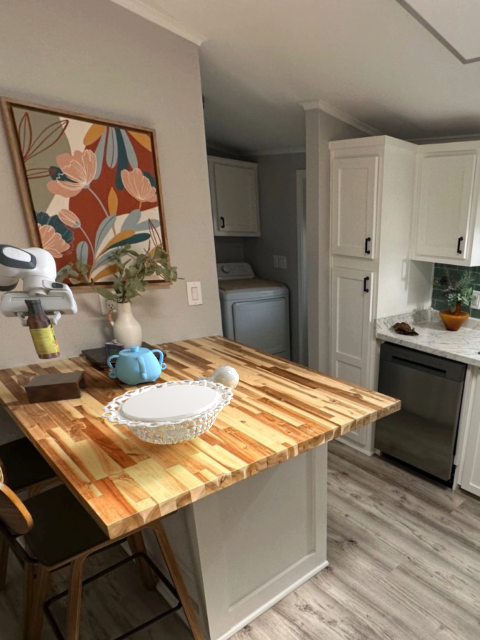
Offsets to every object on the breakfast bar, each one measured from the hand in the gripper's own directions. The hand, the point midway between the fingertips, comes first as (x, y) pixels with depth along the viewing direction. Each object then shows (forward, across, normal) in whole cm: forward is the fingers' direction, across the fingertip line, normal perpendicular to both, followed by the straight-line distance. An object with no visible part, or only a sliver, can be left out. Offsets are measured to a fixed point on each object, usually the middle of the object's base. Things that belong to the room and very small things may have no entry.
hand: (39, 324), depth 136 cm
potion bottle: (+30, +52, +4) cm, 60 cm away
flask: (-4, +15, +38) cm, 41 cm away
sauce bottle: (+8, 0, +9) cm, 12 cm away
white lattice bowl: (+55, +39, -20) cm, 70 cm away
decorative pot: (+14, +25, +20) cm, 35 cm away
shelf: (+19, +1, +16) cm, 24 cm away
